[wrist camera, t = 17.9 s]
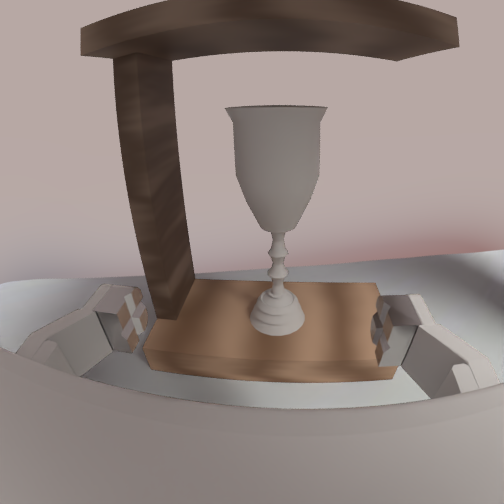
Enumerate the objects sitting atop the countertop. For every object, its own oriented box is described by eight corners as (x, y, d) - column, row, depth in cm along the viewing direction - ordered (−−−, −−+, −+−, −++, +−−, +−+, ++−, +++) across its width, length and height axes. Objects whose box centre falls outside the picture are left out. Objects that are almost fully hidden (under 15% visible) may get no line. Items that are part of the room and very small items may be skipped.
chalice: (266, 286, 31) (262, 105, 23) (326, 306, 28) (341, 107, 19) (223, 326, 26) (202, 110, 18) (291, 356, 23) (299, 107, 14)
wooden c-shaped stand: (370, 304, 32) (395, 41, 19) (392, 378, 23) (456, 17, 9) (182, 299, 35) (151, 45, 21) (151, 369, 25) (80, 28, 12)
